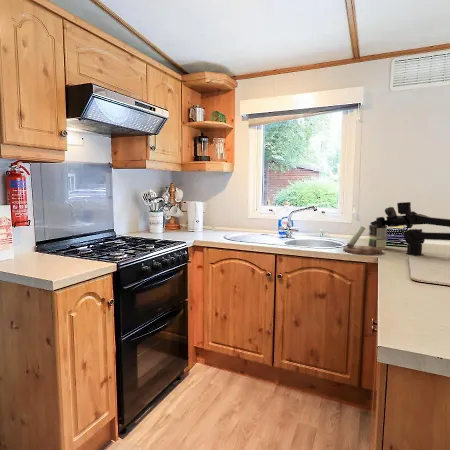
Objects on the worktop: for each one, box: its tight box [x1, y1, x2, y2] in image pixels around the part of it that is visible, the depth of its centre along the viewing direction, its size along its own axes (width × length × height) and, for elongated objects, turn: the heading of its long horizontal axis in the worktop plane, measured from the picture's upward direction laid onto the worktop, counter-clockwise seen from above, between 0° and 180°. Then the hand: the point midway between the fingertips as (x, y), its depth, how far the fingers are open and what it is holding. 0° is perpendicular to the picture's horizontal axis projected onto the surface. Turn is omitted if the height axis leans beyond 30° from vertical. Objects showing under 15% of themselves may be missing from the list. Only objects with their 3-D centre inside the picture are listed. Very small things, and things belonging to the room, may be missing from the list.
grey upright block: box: [367, 224, 388, 250], centre depth 210 cm, size 10×10×14 cm
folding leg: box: [347, 225, 366, 247], centre depth 196 cm, size 3×3×13 cm
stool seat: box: [342, 243, 383, 256], centre depth 196 cm, size 21×21×4 cm
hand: (375, 223), depth 206 cm, fingers open, 9 cm apart
